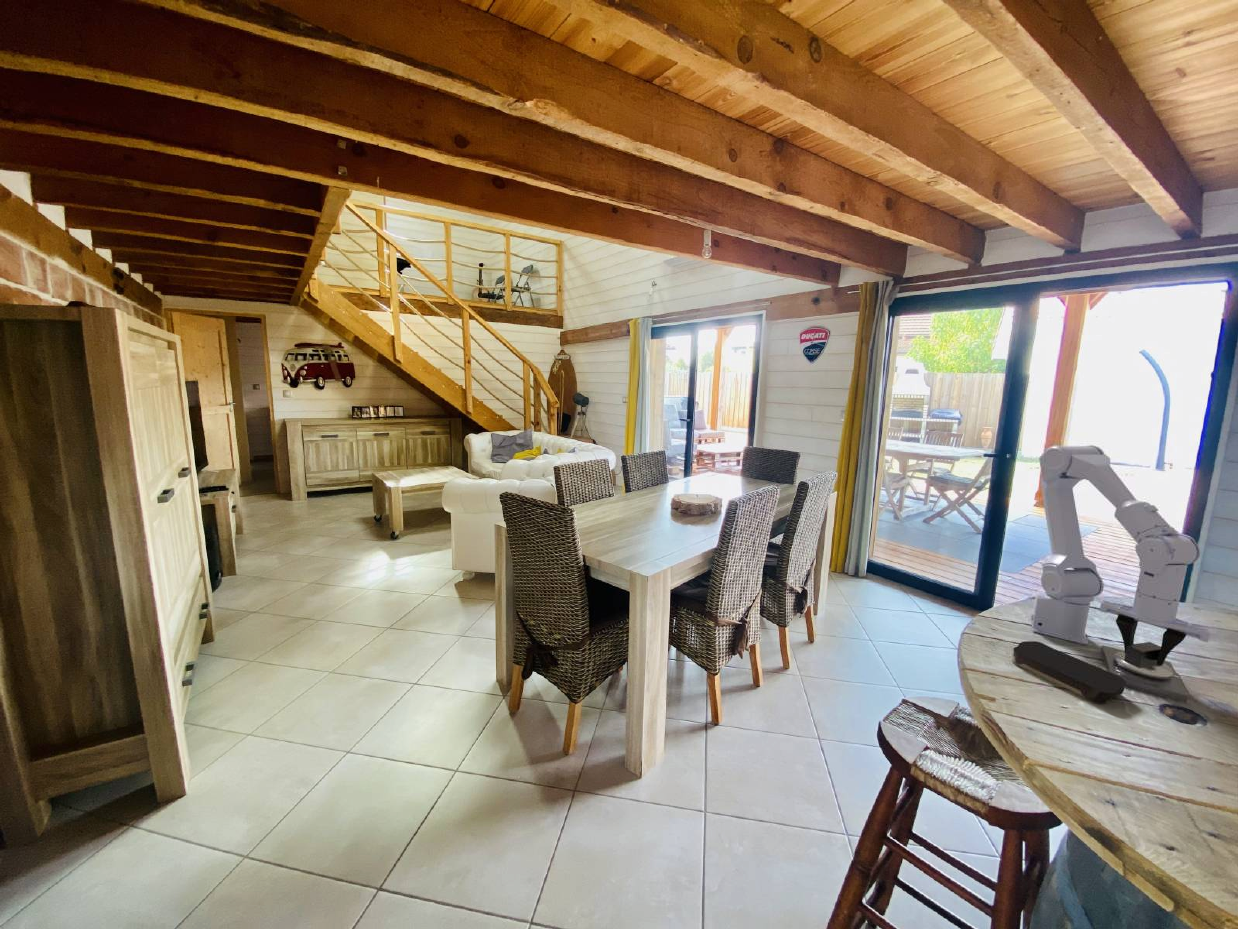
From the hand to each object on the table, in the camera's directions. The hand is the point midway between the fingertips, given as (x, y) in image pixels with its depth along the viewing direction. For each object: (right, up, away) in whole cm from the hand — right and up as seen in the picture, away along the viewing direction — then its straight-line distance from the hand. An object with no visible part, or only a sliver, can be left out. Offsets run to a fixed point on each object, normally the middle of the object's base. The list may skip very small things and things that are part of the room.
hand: (1144, 658), depth 96 cm
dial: (0, -2, 0) cm, 2 cm away
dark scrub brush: (-16, -4, 0) cm, 17 cm away
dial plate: (0, -4, +1) cm, 4 cm away
